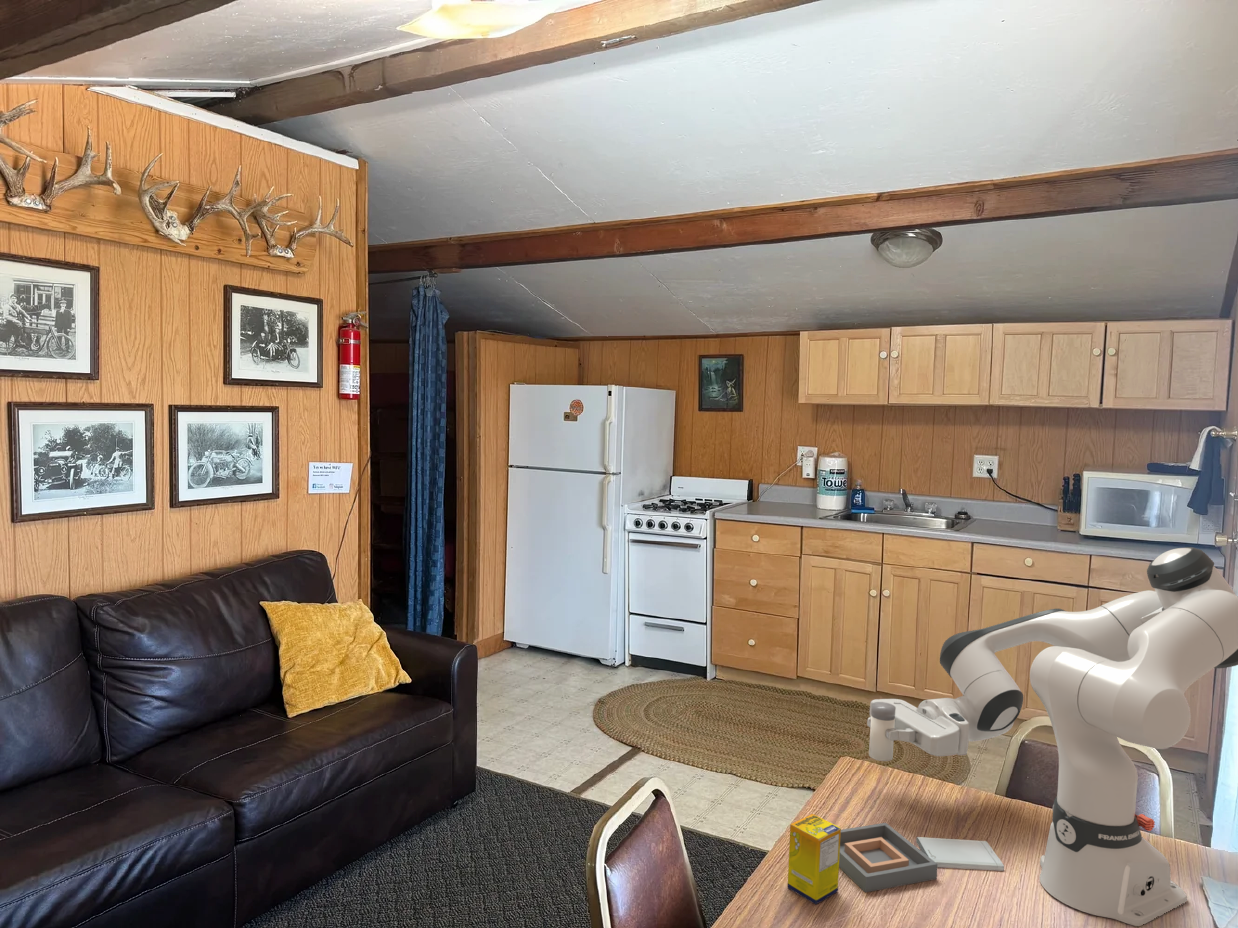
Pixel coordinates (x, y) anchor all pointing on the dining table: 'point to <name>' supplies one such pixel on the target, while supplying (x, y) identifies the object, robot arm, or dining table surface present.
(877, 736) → the white bottle
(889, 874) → the walled box
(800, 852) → the supplement box
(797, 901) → the dining table surface
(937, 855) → the hard drive
